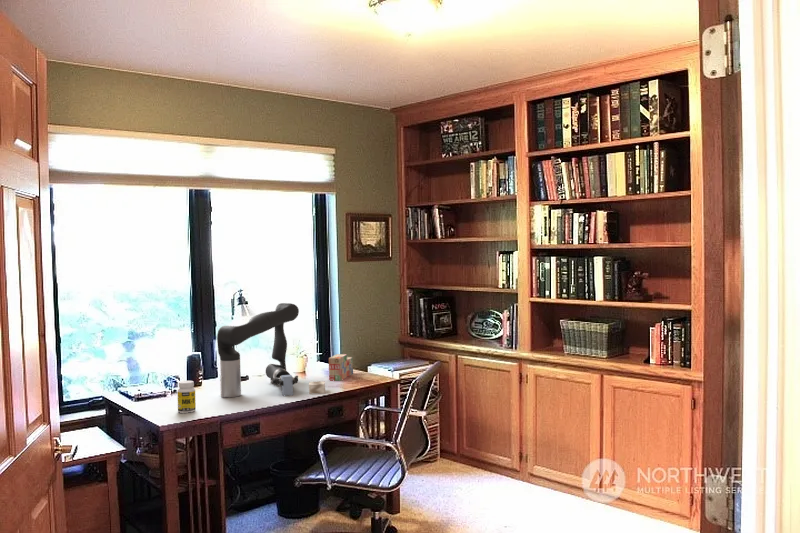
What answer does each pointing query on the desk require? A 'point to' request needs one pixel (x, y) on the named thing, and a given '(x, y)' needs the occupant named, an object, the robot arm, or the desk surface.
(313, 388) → the cream base block
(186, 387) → the supplement bottle
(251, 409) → the desk surface
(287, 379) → the slate block
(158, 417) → the desk surface
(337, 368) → the stack of blocks
